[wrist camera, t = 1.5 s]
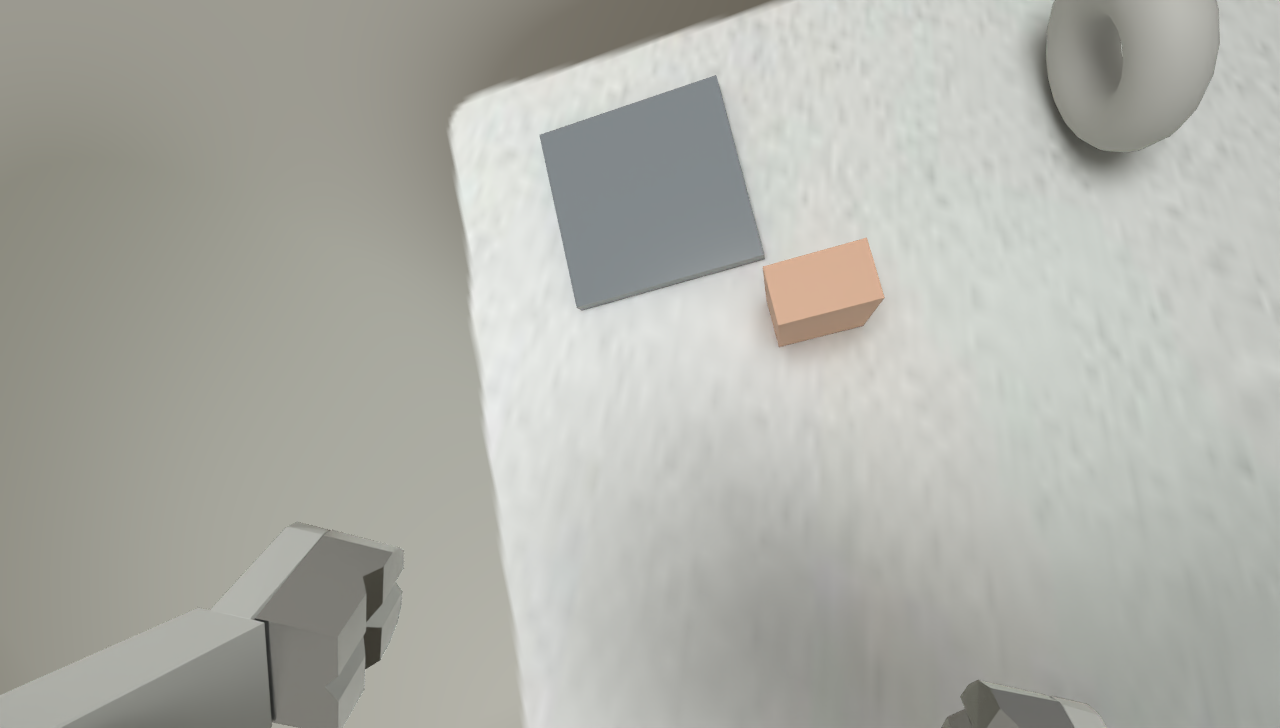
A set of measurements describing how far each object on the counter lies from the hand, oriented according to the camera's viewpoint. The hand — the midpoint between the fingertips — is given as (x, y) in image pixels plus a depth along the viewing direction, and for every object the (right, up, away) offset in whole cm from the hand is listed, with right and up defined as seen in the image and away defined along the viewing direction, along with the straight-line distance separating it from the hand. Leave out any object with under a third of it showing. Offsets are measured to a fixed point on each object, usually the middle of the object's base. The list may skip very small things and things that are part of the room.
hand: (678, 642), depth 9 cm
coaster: (0, +15, +32) cm, 35 cm away
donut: (+24, +19, +28) cm, 41 cm away
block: (+10, +7, +29) cm, 32 cm away
